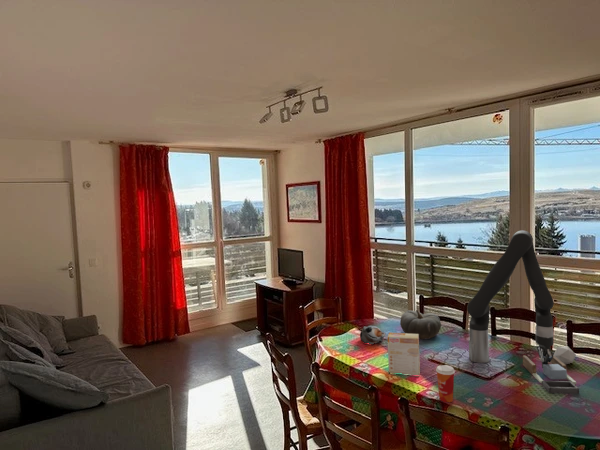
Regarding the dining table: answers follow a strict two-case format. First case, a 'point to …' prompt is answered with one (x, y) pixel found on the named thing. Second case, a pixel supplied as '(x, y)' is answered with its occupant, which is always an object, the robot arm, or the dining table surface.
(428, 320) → the gourd
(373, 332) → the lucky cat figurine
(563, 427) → the dining table surface
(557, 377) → the block
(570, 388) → the tray
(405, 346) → the coffeecake box
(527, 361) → the tunnel
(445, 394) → the paper cup
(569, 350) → the die
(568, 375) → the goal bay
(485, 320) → the robot arm
